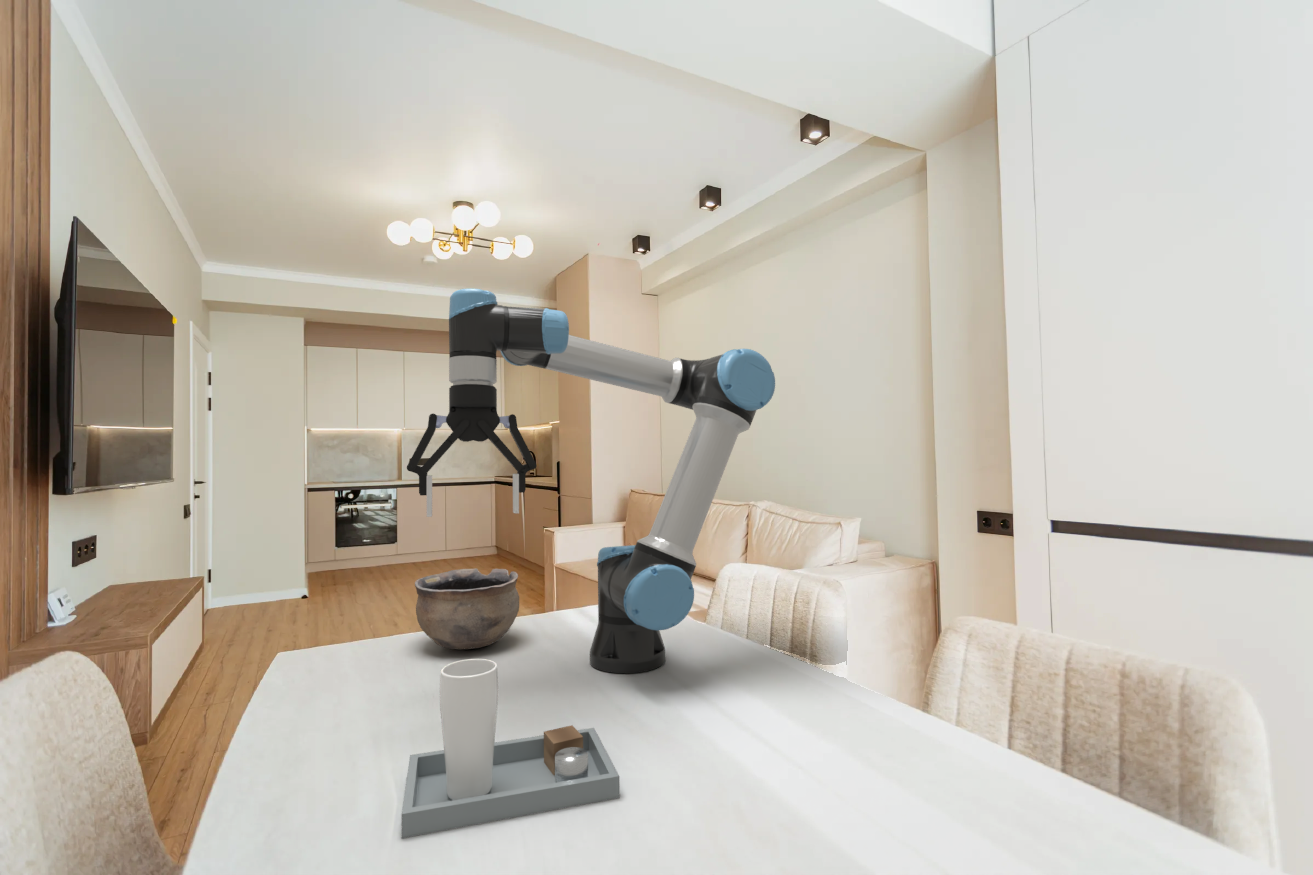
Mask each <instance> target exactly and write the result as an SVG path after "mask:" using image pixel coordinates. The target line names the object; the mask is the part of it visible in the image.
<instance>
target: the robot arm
mask: <svg viewBox="0 0 1313 875" xmlns="http://www.w3.org/2000/svg"><path fill="white" fill-rule="evenodd" d="M448 314H449V315H448V342H449V344H448V349H449V351H448V352H449V353H448V354H449V358H448V374H449V375H448V377H449V378H448V380H449V382H450V383H451V384H452V385H451V386H450V387H449V388H448V395H449V397H448V398H449V400H448V402H449V404H448V405H449V406H448V407H449V408H448V409H449V410H448V414H447V415H437V414H436V413H430V414H429V415H428V422H427V427H426V429H425V432H424V433H423V435H422V437H421V439H420V441H419V443H418V444H417V447H416V448H415V451H414V452H413V454H412V456H411V458H410V460H409V461H408V464H407V466H406V470H407V471H408V472H411V473H414V474H416V475H417V476H418V493H419V496H426V517H427V518H430V517H431V518H432V517H433V475H431V474H429V475H428V473H429V471H430V470H431V469H432V468H433V467H434V466H435V465H436V464H437V462H439V460H440V459H441V458H442V457H443V456H444V454H446V452H447V451H449V449H450V448H451V447H452V446H453V444H454V443H455V442H456V441H457V440H459V441H461V442H465V443H467V442H472V441H475V442H481V443H482V442H486V441H487V440H489V442H490V443H492V444H493V446H494V447H495V448H496V449H497V450H498V451H499V453H501V455H502V456H503V457H504V458H505V459H506V460H507V461H508V462H509V464H510V465H511V466H512V468H514V469H515V471H516V472H517V473H512V513H513V514H520V493H521V494H522V493H525V491H526V474H527V473H528V472H530V471H533V470H535V469H536V468H537V463H536V461H535V459H534V457H533V455H532V453H531V451H530V450H529V448H528V445H527V443H526V441H525V439H524V437H523V435H522V434H521V432H520V430H519V428H518V423H517V417H516V415H515V414H513V413H512V414H510V415H504V416H503V415H502V416H500V415H499V414H498V402H497V398H498V396H497V392H498V391H497V388H496V387H495V384H496V383H497V382H498V381H497V379H498V378H497V376H498V374H497V372H498V371H497V370H498V367H497V366H498V364H497V362H498V361H497V352H500V355H501V356H502V358H503V359H504V360H505V361H506V362H507V363H509V364H510V365H513V366H517V367H524V366H529V367H530V366H531V367H534V368H535V367H536V368H538V369H539V368H540V369H545V370H549V371H554V372H559V373H562V374H565V375H570V376H575V377H578V378H583V379H587V380H591V381H595V382H599V383H604V384H608V385H611V386H616V387H620V388H624V389H629V390H633V391H637V392H640V393H645V394H649V395H650V394H651V395H653V396H658V397H661V398H662V400H663V401H664V403H667V404H670V405H674V406H678V407H681V408H685V409H689V410H692V411H693V412H694V415H695V420H694V423H693V425H692V427H691V430H690V431H689V436H688V438H687V440H686V442H685V445H684V447H683V450H682V451H681V452H682V453H681V455H680V457H679V459H678V463H677V464H676V467H675V469H674V472H673V474H672V477H671V479H670V482H669V485H668V487H667V490H666V492H665V495H664V496H663V499H662V502H661V505H660V507H659V509H658V511H657V513H656V516H655V518H654V521H653V524H652V526H651V529H650V530H649V534H648V535H647V536H644V537H642V538H639V539H637V541H636V543H635V544H634V545H633V544H632V545H630V544H629V545H615V546H606V547H605V546H604V547H602V548H600V550H598V556H597V562H596V567H597V609H598V611H597V612H598V613H597V616H598V617H597V618H598V620H597V621H598V622H597V625H596V629H595V633H594V636H593V640H592V643H591V646H590V650H589V664H590V665H591V667H593V668H594V669H596V670H598V671H603V672H605V673H606V672H607V673H614V674H636V673H645V672H648V671H653V670H655V669H657V668H660V667H661V666H663V665H664V664H665V663H666V658H667V656H666V646H665V643H664V641H663V637H662V634H661V632H660V631H665V630H666V631H667V630H669V629H671V628H674V627H675V626H677V625H679V624H680V623H682V622H683V621H684V619H685V618H686V617H687V616H688V614H690V611H691V609H692V607H693V605H694V601H695V600H694V599H695V588H694V586H693V582H692V578H693V575H694V573H695V570H696V568H697V562H696V559H695V557H694V554H693V553H694V549H695V546H696V544H697V541H698V538H699V536H700V534H701V531H702V528H703V526H704V523H705V520H706V518H707V516H708V513H709V511H710V508H711V506H712V503H713V500H714V497H715V495H716V492H717V490H718V488H719V484H720V482H721V480H722V477H723V475H724V473H725V470H726V467H727V464H728V462H729V460H730V457H731V455H732V452H733V449H734V446H735V444H736V442H737V440H738V437H739V434H741V433H744V432H746V431H748V430H750V428H751V425H752V422H753V420H754V418H755V415H756V412H757V411H758V410H760V409H762V408H764V407H765V406H766V405H768V403H769V402H770V401H771V400H772V398H773V396H774V394H775V390H776V378H775V373H774V371H773V368H772V367H771V364H770V362H769V361H768V360H767V358H765V356H763V355H762V354H761V353H760V352H758V351H756V350H754V349H751V348H750V349H749V348H739V349H738V348H736V349H735V348H734V349H729V350H727V351H726V352H724V353H722V354H719V355H716V356H713V357H710V358H706V359H700V360H699V359H698V360H695V359H693V360H691V359H684V358H679V357H674V358H672V359H671V360H668V359H665V358H664V359H663V358H659V357H656V356H653V355H648V354H644V353H641V352H637V351H633V350H630V349H625V348H622V347H618V346H614V345H610V344H607V343H603V342H599V341H596V340H595V341H594V340H591V339H588V338H587V339H586V338H583V337H579V336H575V335H571V334H570V324H569V319H568V316H567V314H566V313H565V312H564V311H563V310H557V309H550V308H548V307H545V308H535V307H519V306H507V305H502V304H501V305H500V304H498V301H497V296H496V294H494V293H493V292H492V291H489V290H483V289H482V288H481V289H480V288H462V289H458V290H455V291H454V292H452V294H451V295H450V298H449V311H448ZM444 424H446V425H447V426H448V428H450V429H451V431H452V432H451V434H450V435H448V437H447V438H446V439H445V440H444V441H443V442H442V443H441V445H440V446H439V447H438V448H437V449H436V451H434V452H433V454H432V455H431V456H430V457H429V458H428V459H427V460H426V461H425V463H424V464H423V465H422V466H421V465H419V463H420V461H421V459H422V457H423V456H424V454H425V451H426V450H427V448H428V446H429V444H430V443H431V440H432V438H433V436H434V435H435V433H436V431H437V429H440V428H441V427H442V425H444ZM500 424H502V425H503V427H504V428H505V429H508V430H509V433H510V435H511V437H512V439H513V441H514V443H515V444H516V446H517V449H518V451H519V453H520V454H521V456H522V458H523V460H524V463H525V464H522V462H521V461H520V460H519V459H518V458H517V457H516V456H515V454H514V453H513V452H512V450H510V448H508V446H507V445H506V444H505V443H504V442H503V441H502V439H501V438H500V437H499V436H498V435H497V433H496V432H495V430H496V429H497V428H498V426H499V425H500Z"/></svg>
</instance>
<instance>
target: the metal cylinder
mask: <svg viewBox="0 0 1313 875" xmlns="http://www.w3.org/2000/svg"><path fill="white" fill-rule="evenodd" d="M586 777H588V752H587V751H586V750H585V749H583V748H578V747H569V748H564V749H562V750H560V751H558V752H557V753H556V754H555V783H557V782H563V781H568V780H574V779H580V778H586Z"/></svg>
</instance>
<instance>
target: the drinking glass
mask: <svg viewBox="0 0 1313 875" xmlns="http://www.w3.org/2000/svg"><path fill="white" fill-rule="evenodd" d="M498 674H499V672H498V664H497V662H495V661H493V660H490V659H488V658H487V659H485V658H469V659H467V658H466V659H461V660H457V661H454V662H451V663H447V664H446V665H445V666H443V667H441V670H440V675H439V678H440V679H439V710H440V719H441V730H442V731H441V732H442V743H443V744H442V745H443V750H444V756H445V767H446V792H447V795H448V797H449V798H450V799H451V800H458V799H464V798H470V797H476V796H482V795H487V794H488V793H489V792H490V790H491V788H492V770H493V756H494V743H495V742H496V740H495V739H496V729H497V718H498V716H497V715H498V706H499V703H498V702H499V675H498Z"/></svg>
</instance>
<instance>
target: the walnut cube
mask: <svg viewBox="0 0 1313 875" xmlns="http://www.w3.org/2000/svg"><path fill="white" fill-rule="evenodd" d="M577 730H578V729H576V728H575V727H574V726H573V724H572V725H567V726H563V727H559V728H554V729H550V730H545V731H543V735H544V763H545V764H546V766H547V767H548V769H549V770H550V771H551V773H552V774H553V775H555V754H556V753H557V752H558V751H560V750H562V749H564V748H569V747H578V748H583V736H582V735H581V734H580V733H579V732H578V731H577Z"/></svg>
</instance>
